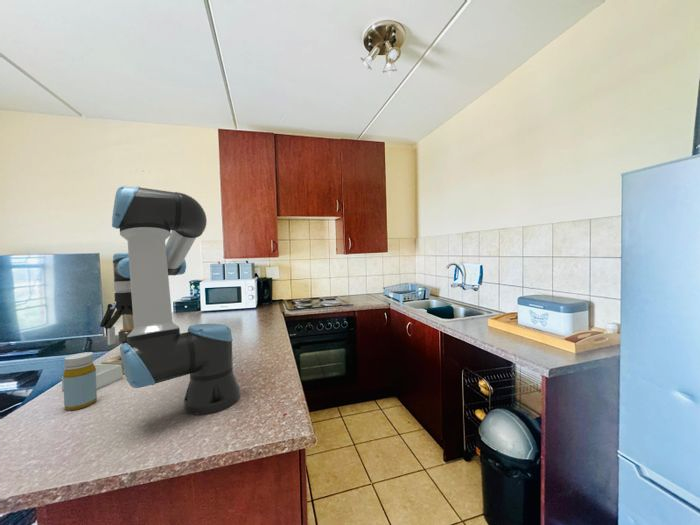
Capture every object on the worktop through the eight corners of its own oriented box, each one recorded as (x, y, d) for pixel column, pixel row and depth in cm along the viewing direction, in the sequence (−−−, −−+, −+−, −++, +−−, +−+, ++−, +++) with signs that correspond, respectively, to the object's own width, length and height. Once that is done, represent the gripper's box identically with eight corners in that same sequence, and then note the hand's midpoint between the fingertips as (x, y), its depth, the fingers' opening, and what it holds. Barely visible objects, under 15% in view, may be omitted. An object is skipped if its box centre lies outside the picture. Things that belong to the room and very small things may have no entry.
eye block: (127, 374, 105) (127, 363, 105) (101, 372, 107) (101, 362, 107) (155, 362, 117) (154, 353, 117) (130, 361, 119) (130, 352, 119)
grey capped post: (142, 364, 115) (141, 327, 115) (131, 370, 109) (129, 331, 109) (127, 364, 115) (126, 327, 115) (115, 370, 109) (114, 331, 109)
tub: (89, 393, 91) (89, 378, 91) (62, 391, 93) (61, 376, 93) (122, 378, 102) (121, 365, 102) (97, 377, 104) (96, 363, 104)
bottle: (94, 396, 89) (92, 350, 88) (98, 403, 84) (96, 354, 84) (63, 406, 83) (61, 356, 83) (66, 414, 79) (63, 361, 78)
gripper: (163, 289, 116) (165, 339, 116) (103, 290, 115) (105, 341, 116) (150, 291, 108) (152, 345, 109) (86, 293, 108) (88, 347, 108)
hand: (128, 343), depth 112 cm, fingers open, 13 cm apart
